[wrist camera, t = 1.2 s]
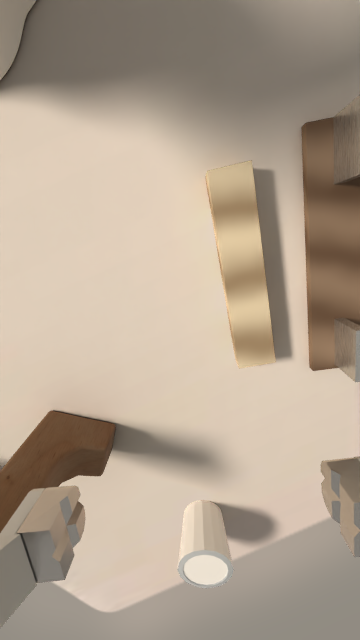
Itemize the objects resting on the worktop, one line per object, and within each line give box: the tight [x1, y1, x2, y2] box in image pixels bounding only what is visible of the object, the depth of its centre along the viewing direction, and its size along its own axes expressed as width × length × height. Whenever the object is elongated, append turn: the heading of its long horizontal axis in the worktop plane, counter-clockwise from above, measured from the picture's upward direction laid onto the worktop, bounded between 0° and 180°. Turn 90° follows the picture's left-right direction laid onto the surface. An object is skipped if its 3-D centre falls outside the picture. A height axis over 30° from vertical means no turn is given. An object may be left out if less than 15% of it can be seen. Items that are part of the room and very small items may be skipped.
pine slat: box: [205, 160, 276, 369], centre depth 28 cm, size 20×4×3 cm, turn 12°
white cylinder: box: [178, 500, 233, 588], centre depth 36 cm, size 7×7×7 cm
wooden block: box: [0, 411, 116, 533], centre depth 27 cm, size 9×4×18 cm, turn 77°
